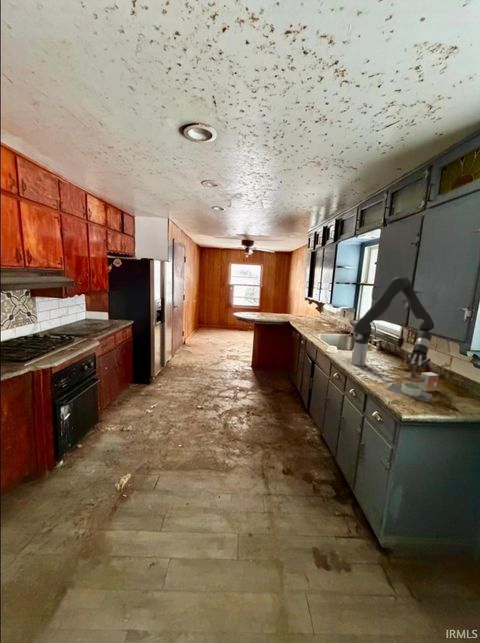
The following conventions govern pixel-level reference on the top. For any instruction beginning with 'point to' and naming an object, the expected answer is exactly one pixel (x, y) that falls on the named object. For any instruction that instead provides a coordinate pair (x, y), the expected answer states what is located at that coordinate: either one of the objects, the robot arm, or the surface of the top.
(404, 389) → the bowl
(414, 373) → the lid
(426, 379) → the small box
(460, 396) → the top surface
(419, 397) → the mat
